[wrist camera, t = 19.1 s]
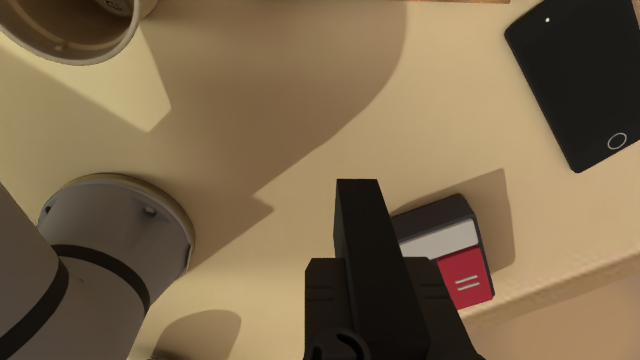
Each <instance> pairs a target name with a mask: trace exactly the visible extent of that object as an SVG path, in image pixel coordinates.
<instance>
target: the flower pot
mask: <svg viewBox="0 0 640 360" xmlns="http://www.w3.org/2000/svg"><path fill="white" fill-rule="evenodd" d="M106 1H109V2H112V3H114V2H115V4H117V5H118V6H120V7H121V10H119V9H116V8H113V7H111V6H110V5H108V4H107V2H106ZM157 2H158V0H0V31H2V32H3V33H4V34H5V35H6V36H7V37H9V38H10V39H11V40H12V41H14V42H15V43H17V44H18V45H20V46H21V47H23V48H24V49H26V50H27V51H30V52H32V53H33V54H35V55H37V56H40V57H42V58H44V59H46V60H50V61H54V62H57V63H61V64H66V65H73V66H84V65H93V64H98V63H101V62H104V61H107V60H109V59H111V58H112V57H114V56H116V55H117V54H118V53H120V52H121V51H122V50H123V49H124V48H125V47H126V46H127V45H128V43H129V42H130V40H131V39H132V37H133V36H134V34H135V31H136V29H137V27H138V23H139V21H140V20H141V19H143V18H144V17H145V16H146V15H148V14H149V13H150V12H151V11H152V10H153V9H154V7H155V6H156V4H157Z"/></svg>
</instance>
